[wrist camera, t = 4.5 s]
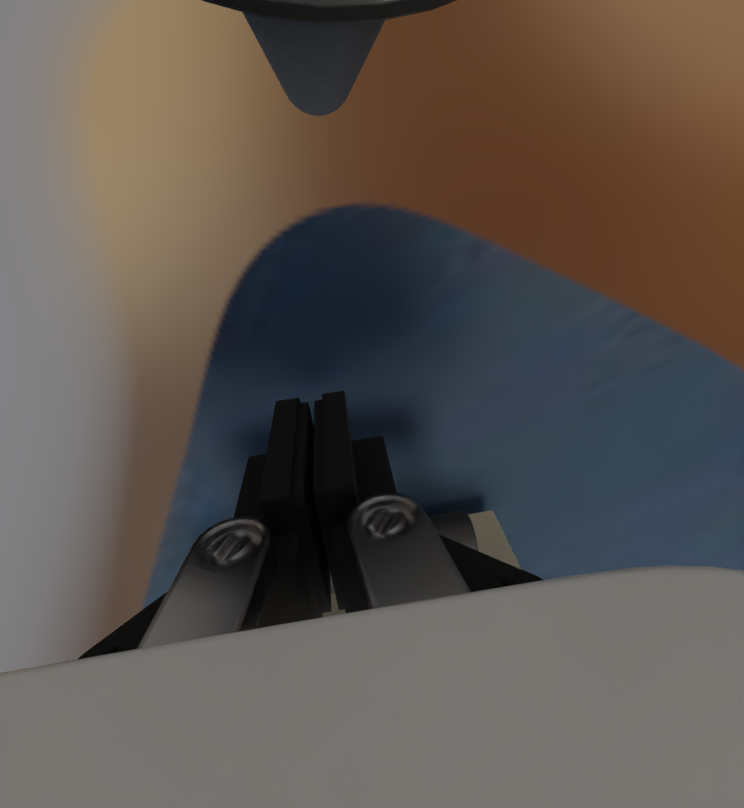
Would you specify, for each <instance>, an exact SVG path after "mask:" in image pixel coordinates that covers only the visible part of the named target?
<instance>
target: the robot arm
mask: <svg viewBox="0 0 744 808" xmlns="http://www.w3.org/2000/svg"><path fill="white" fill-rule="evenodd" d="M331 577H332V582H333V587H334V591H335V596H336V600H337V605H338V609H339V610H344V609H345V612H346V613H345V614H339V615H333V616H327V617H322V613H327V612H331ZM0 808H744V571H743V570H735V569H727V568H719V567H711V566H676V565H669V566H652V567H635V568H627V569H619V570H612V571H604V572H597V573H589V574H582V575H574V576H567V577H560V578H554V579H548V580H543V579H541V578H539V577H537V576H535V575H533V574H531V573H528V572H526V571H524V570H521V569H519V568H517V567H514V566H512V565H510V564H507V563H505V562H503V561H500V560H498V559H496V558H493V557H491V556H489V555H486V554H484V553H482V552H479V551H477V550H475V549H472V548H470V547H468V546H465V545H463V544H461V543H458V542H456V541H454V540H451V539H449V538H447V537H444V536H442V535H440V534H438V533H437V531H436V530H435V528H434V526H433V524H432V523H431V521H430V519H429V517H428V516H427V514H426V512H425V510H424V508H423V507H422V506H421V505H420V503H419V502H418V501H417V500H415V499H413V498H411V497H410V496H407V495H403V494H399V493H396V489H395V485H394V480H393V476H392V472H391V468H390V464H389V460H388V456H387V451H386V447H385V443H384V439H383V436H378V437H372V438H365V439H359V440H353V441H352V435H351V429H350V423H349V417H348V411H347V405H346V399H345V393H344V391H339V392H332V393H326V394H322V400H318V401H315V408H314V426H313V421H312V416H311V411H310V407H309V403H308V402H305V403H301V402H300V399H299V398H294V399H287V400H281V401H276V405H275V410H274V416H273V421H272V426H271V432H270V437H269V443H268V448H267V453H266V454H264V455H258V456H251V457H249V459H248V462H247V466H246V470H245V474H244V478H243V482H242V486H241V490H240V494H239V498H238V502H237V506H236V511H235V515H234V518H230V519H227V520H224V521H221V522H219V523H217V524H215V525H213V526H212V527H210V528H208V529H207V530H206V531H205V532H203V533H202V534H201V535H200V536H199V537H198V538H197V539H196V541H195V542H194V544H193V545H192V547H191V549H190V550H189V552H188V554H187V556H186V558H185V560H184V562H183V564H182V565H181V567H180V569H179V571H178V573H177V575H176V577H175V579H174V580H173V582H172V584H171V586H170V588H169V590H168V592H166V593H165V594H163V595H162V596H161V597H159V598H158V599H157V600H155V601H154V602H153V603H151V604H150V605H149V606H147V607H146V608H145V609H143V610H142V611H141V612H139V613H138V614H137V615H135V616H134V617H133V618H131V619H130V620H129V621H127V622H126V623H124V624H123V625H122V626H120V627H119V628H118V629H116V630H115V631H114V632H112V633H111V634H110V635H108V636H107V637H106V638H104V639H103V640H102V641H100V642H99V643H97V644H96V645H95V646H93V647H92V648H91V649H89V650H88V651H87V652H85V653H84V654H83V655H82V656H81V657H80V658H79V659H77V660H72V661H66V662H60V663H55V664H49V665H43V666H38V667H32V668H26V669H21V670H15V671H9V672H4V673H0Z"/></svg>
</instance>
